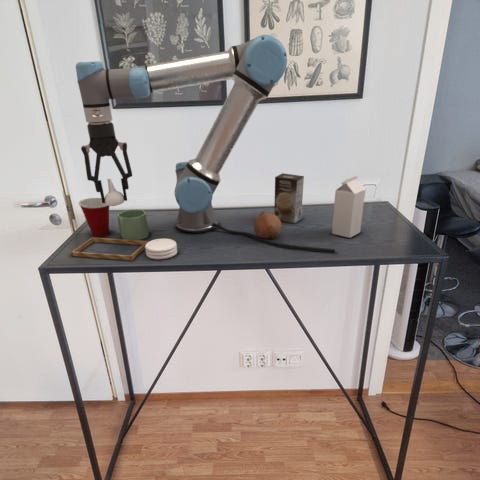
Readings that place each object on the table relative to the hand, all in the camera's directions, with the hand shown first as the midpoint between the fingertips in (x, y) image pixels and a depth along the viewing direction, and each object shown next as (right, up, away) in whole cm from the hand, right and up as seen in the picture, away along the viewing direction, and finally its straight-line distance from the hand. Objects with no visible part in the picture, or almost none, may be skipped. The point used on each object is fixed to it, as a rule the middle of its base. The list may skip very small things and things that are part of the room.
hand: (114, 200), depth 136 cm
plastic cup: (-10, -8, +17) cm, 21 cm away
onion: (+50, -11, +8) cm, 52 cm away
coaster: (+15, -18, -1) cm, 23 cm away
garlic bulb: (0, -1, +1) cm, 1 cm away
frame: (-2, -16, +3) cm, 16 cm away
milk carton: (+77, -9, +10) cm, 79 cm away
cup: (+3, -9, +14) cm, 17 cm away
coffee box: (+59, 0, +25) cm, 64 cm away
